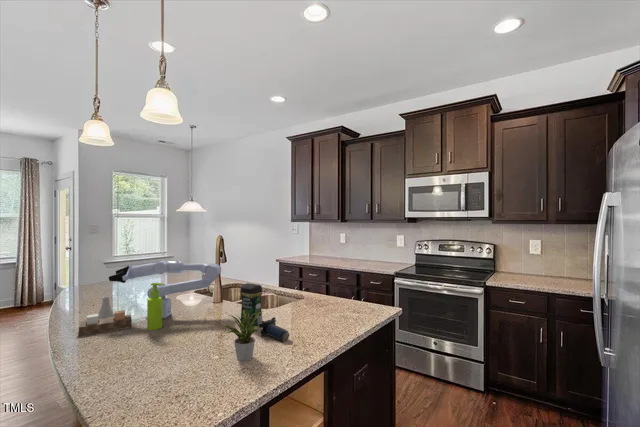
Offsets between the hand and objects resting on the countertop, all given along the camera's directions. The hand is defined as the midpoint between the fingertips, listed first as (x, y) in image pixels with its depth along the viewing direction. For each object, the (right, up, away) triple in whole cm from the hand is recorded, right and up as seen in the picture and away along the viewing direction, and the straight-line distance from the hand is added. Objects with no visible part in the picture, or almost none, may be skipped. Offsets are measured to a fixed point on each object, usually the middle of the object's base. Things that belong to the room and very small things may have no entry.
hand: (112, 275), depth 155 cm
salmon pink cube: (+10, -19, -11) cm, 24 cm away
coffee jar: (+70, -21, -10) cm, 74 cm away
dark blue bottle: (+84, -20, -26) cm, 90 cm away
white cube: (+2, -19, -16) cm, 25 cm away
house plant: (+76, -20, -43) cm, 89 cm away
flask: (-5, -21, +2) cm, 22 cm away
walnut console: (+6, -21, -14) cm, 26 cm away
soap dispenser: (+28, -21, -14) cm, 38 cm away
